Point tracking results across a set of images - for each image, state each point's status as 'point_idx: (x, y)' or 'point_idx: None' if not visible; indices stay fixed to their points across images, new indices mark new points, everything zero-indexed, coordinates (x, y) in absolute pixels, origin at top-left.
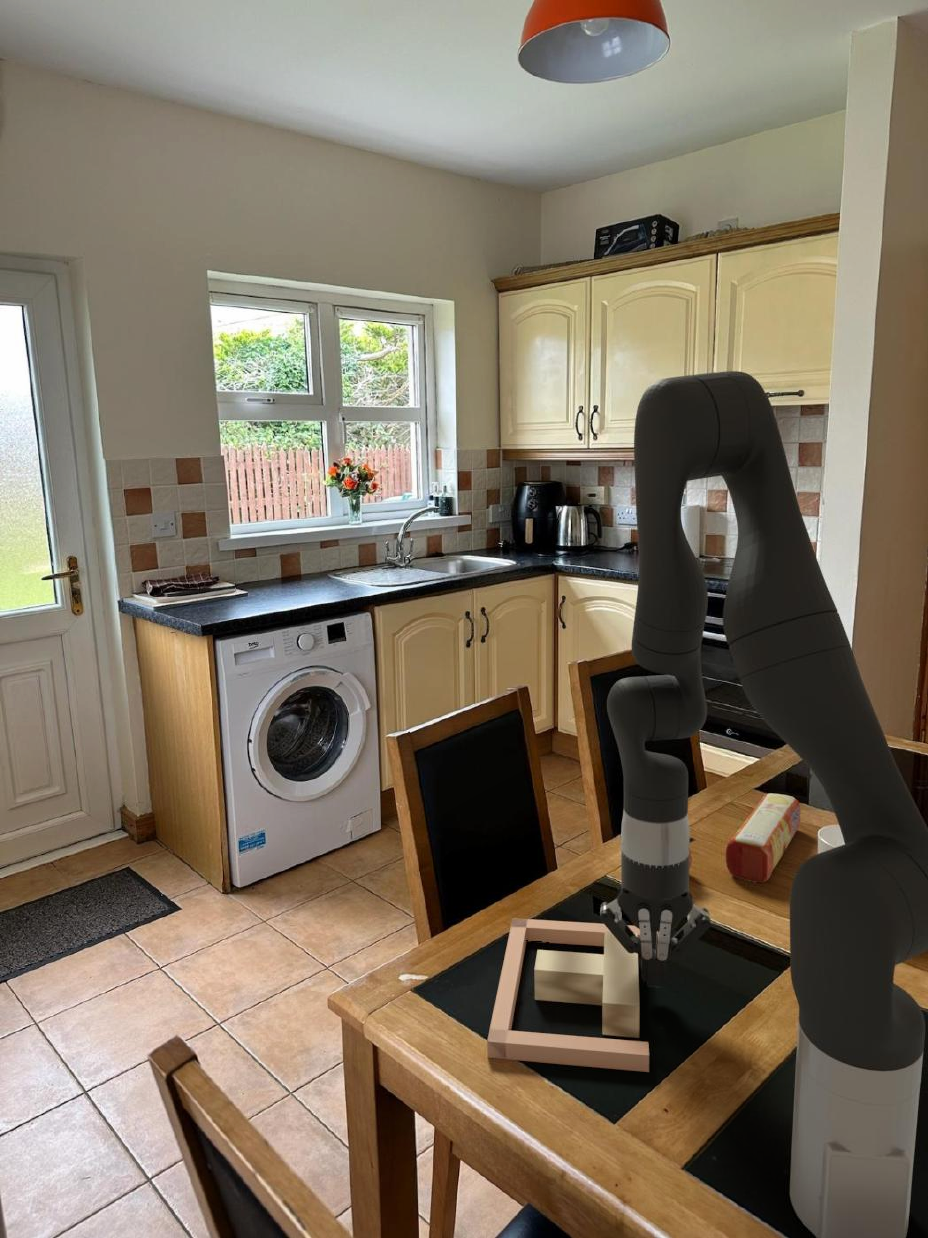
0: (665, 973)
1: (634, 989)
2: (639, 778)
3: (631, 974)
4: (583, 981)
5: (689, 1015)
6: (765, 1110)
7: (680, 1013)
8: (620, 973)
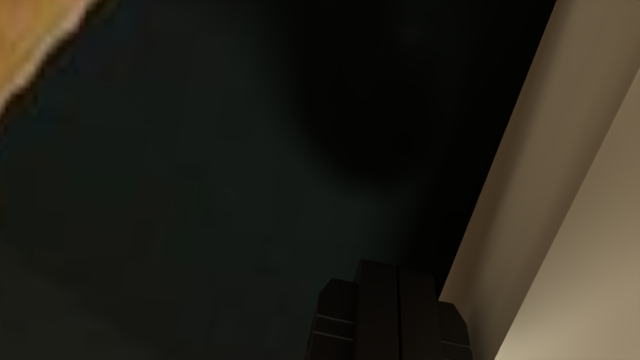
0: (321, 323)
1: (610, 203)
2: None
3: (554, 341)
4: None
5: (236, 113)
6: None
7: (278, 131)
8: (628, 357)
